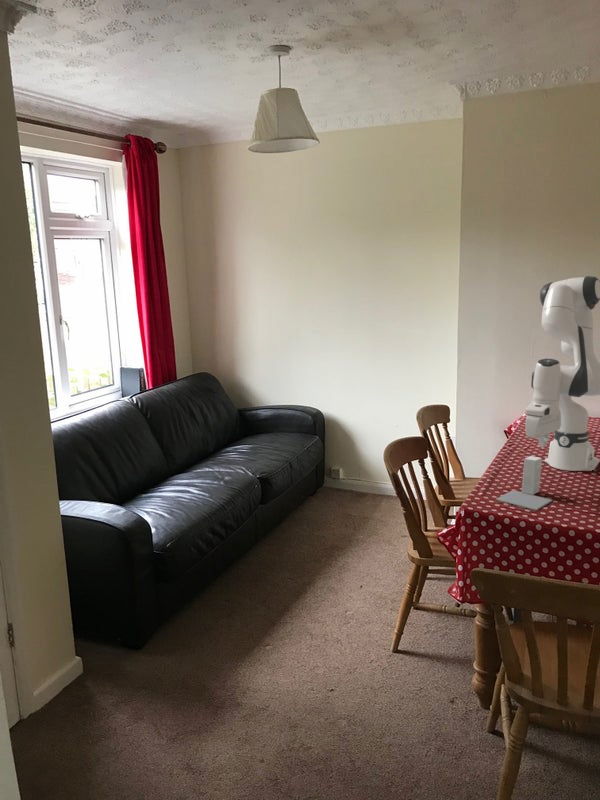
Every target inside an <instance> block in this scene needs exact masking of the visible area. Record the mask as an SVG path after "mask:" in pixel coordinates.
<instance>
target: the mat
mask: <svg viewBox="0 0 600 800" xmlns="http://www.w3.org/2000/svg"><path fill="white" fill-rule="evenodd" d="M496 500H497V502H499V501H501V502H500V503H503V502H505V503H504V504H507V503H509V504H508V505H511V504H513V505H512V506H515V505H516V506H515V507H519V508H523V509H526V508H527V510H531V511H535V512H536V511H538V510H540V509H542V508H544V507H545V506H546V505H548V504H551V503H552V502H553V499H551V498H547V497H543V496H538V495H535V494H534V495H531V494H526V493H522V491H518V490H513V489H512V490H510V491H508V492H506V493H505V494H503V495H501V496H499V497H497V498H495V501H496Z"/></svg>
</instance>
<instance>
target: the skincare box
mask: <svg viewBox="0 0 600 800" xmlns="http://www.w3.org/2000/svg"><path fill="white" fill-rule="evenodd" d="M542 463H543V458H542V457H539V456H538V457H537V456H532V455H529V456H528V457H525V458H524V462H523V473H522V483H521V492H522V493H526V494H531V495H535V494H537V493H540V487H541V486H540V485H541V484H540V483H541V476H542V475H541V474H542Z"/></svg>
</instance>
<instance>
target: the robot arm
mask: <svg viewBox="0 0 600 800" xmlns="http://www.w3.org/2000/svg"><path fill="white" fill-rule="evenodd" d="M539 300H540V303H541V305H542V311H541V312H542V313H541V327H542V329H543V331H544V332H545V333H546V334H547V335H549V336H550V337H551V338H553V339H556V340H559V341H561V342H560V343H561V344H560V349H561V352H562V353H563V354H564V355H565V356H566V357H569V358H570V359H572V360H573V361H574V365H561V362H560V361H559V360H557V359H555V358H544V359H539V360H537V362H536V364H535V369H534V371H533V372H532V373H531V386H530V387H531V388H532V389H533V394H532V397H531V401H530V403H529V405H527V406H526V408H525V414H526V415H527V416H526V417H525V428H524V429H525V435H526V437H527V438H531V439H537V441H538V447H540V448H544V447H546V446H548V441H549V438H550V435H551V433H553V438H554V439H553V440H551V441H550V442H549V451H548V456H547V457H545V459H544V462H545V463H547V464H548V465H549V466H551V467H552V468H553V469H554V468H555V469H557V470H558V469H559V470H563V471H573V472H577V471H578V472H579V471H580V472H582V471H583V472H587V471H590V472H592V470H594V471H595V470H596V468H597V467H598V465H599V463H600V458H598V457H595V447H594V446H593V445H592V444H591V442H590V440H589V436H590V435H591V431H592V430H591V429H588V420H589V411H588V409H586V408H585V407H584V406H583V405H581V404H580V403H578V402H576V401H574V400H573V399H572V397H575V398H581V397H582V396H590V397H595V396H600V362H599V360H598V358H597V357H596V355H595V351H594V319H593V312H592V310H594V308H596V305H597V304H598V303H599V302H600V279H599V278H597V277H596V276H592V275H589V276H582V277H579V276H578V277H570V278H568V279H562V280H558V281H555V282H553V281H552V282H548V283H546V284H545V285H543V287H542V288H541V289H540V292H539Z"/></svg>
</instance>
